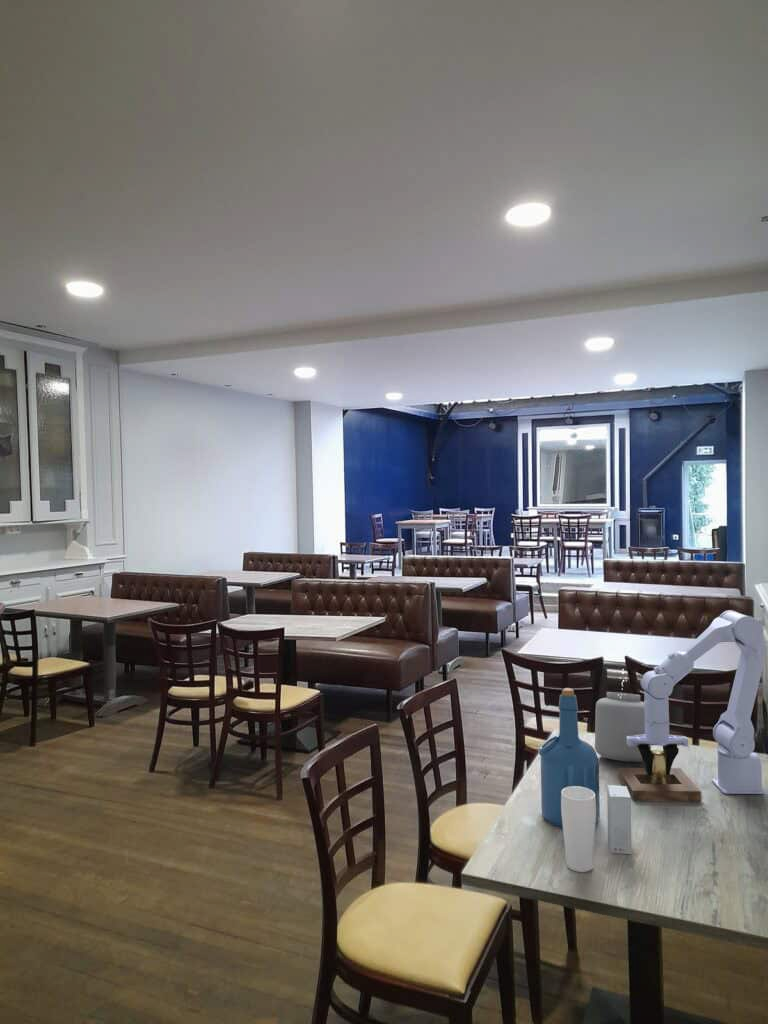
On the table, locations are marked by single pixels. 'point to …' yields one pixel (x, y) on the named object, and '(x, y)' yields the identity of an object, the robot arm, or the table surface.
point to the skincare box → (619, 819)
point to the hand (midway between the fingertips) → (657, 773)
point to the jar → (619, 725)
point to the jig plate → (659, 786)
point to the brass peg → (658, 767)
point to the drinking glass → (578, 826)
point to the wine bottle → (566, 762)
